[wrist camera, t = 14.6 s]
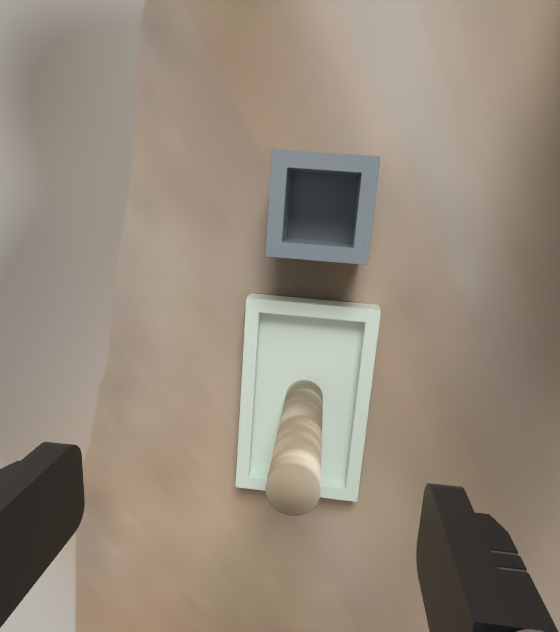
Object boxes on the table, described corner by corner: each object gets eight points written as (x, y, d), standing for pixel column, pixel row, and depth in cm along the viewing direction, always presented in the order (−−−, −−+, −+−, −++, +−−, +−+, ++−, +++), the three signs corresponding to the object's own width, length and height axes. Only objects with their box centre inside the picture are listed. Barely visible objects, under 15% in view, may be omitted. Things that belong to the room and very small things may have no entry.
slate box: (371, 164, 35) (380, 156, 29) (361, 255, 36) (367, 264, 31) (281, 158, 35) (272, 149, 30) (275, 248, 37) (265, 256, 31)
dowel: (324, 381, 38) (322, 469, 25) (321, 416, 39) (318, 518, 26) (286, 378, 38) (266, 463, 26) (284, 412, 39) (263, 512, 26)
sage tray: (378, 304, 37) (380, 310, 35) (355, 487, 41) (357, 501, 39) (250, 293, 38) (246, 298, 36) (239, 473, 42) (235, 487, 40)
